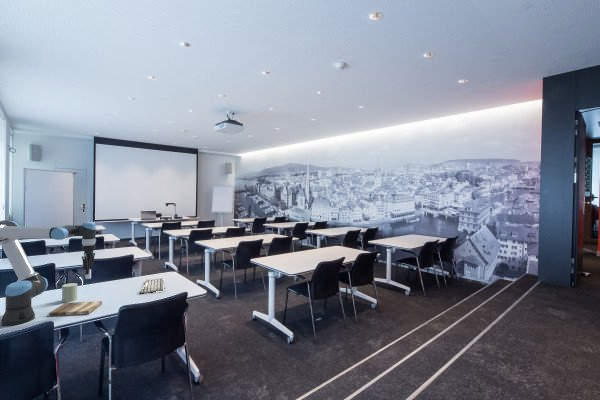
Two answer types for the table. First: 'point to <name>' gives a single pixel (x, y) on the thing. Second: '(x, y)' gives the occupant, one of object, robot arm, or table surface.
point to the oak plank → (83, 308)
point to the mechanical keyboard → (152, 286)
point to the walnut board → (62, 309)
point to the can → (69, 292)
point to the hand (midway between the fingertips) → (88, 278)
